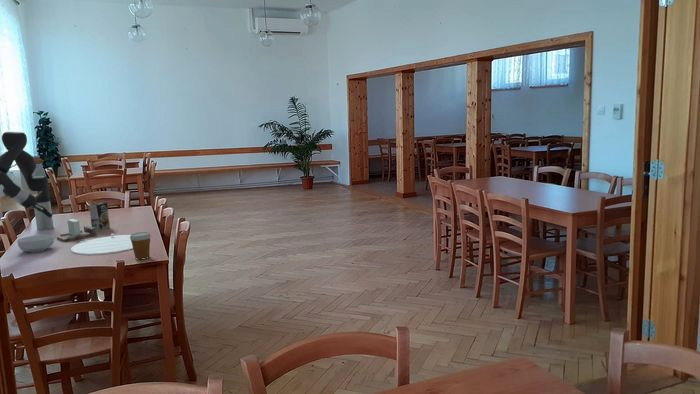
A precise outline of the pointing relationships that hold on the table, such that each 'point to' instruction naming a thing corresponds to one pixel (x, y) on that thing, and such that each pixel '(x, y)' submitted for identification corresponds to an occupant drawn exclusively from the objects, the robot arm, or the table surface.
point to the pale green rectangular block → (73, 227)
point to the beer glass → (141, 244)
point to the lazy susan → (103, 245)
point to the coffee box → (99, 216)
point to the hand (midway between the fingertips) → (51, 216)
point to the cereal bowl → (36, 243)
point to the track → (87, 233)
